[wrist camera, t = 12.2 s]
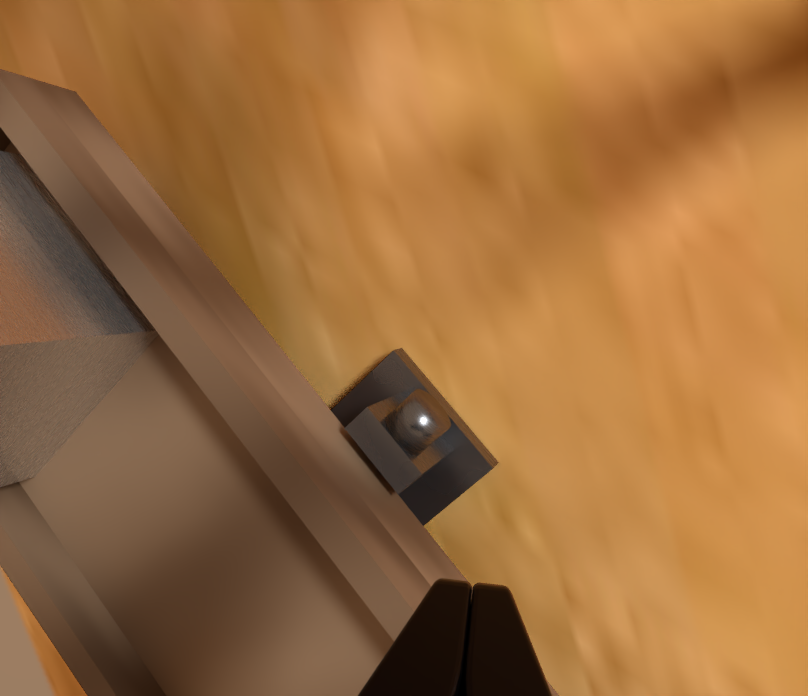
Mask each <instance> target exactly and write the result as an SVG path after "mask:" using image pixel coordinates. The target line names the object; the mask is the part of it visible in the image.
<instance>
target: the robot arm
mask: <svg viewBox="0 0 808 696" xmlns="http://www.w3.org/2000/svg"><path fill="white" fill-rule="evenodd" d="M471 598H472V599H471ZM358 696H552V693H551V691H550V688H549V686H548V683H547V681H546V678H545V676H544V673H543V671H542V668H541V666H540V663H539V661H538V658H537V656H536V653H535V651H534V648H533V646H532V643H531V641H530V638H529V636H528V633H527V631H526V628H525V625H524V623H523V620H522V618H521V615H520V613H519V610H518V608H517V605H516V603H515V600H514V598H513V595H512V593H511V591H510V590H509V588H507V587H506V586H503V585H495V584H487V583H477V584H475V585H474V586H473V590H472V586H471V584H470V583H469V582H467V581H462V580H454V579H446V578H440V579H438V580H436V581H435V582H434V583H433V585H432V586H431V588H430V589H429V591H428V592H427V594H426V595H425V597H424V598H423V600H422V601H421V603H420V604H419V605H418V607H417V608H416V610H415V611H414V613H413V614H412V616H411V617H410V619H409V620H408V622H407V623H406V625H405V626H404V628H403V629H402V631H401V632H400V634H399V635H398V637H397V638H396V640H395V641H394V643H393V644H392V645H391V647H390V648H389V650H388V651H387V653H386V654H385V656H384V657H383V659H382V660H381V662H380V663H379V665H378V666H377V668H376V669H375V671H374V672H373V674H372V675H371V677H370V678H369V680H368V681H367V683H366V684H365V685H364V687H363V688H362V690H361V691H360V693H359V694H358Z"/></svg>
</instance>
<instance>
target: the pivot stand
mask: <svg viewBox="0 0 808 696" xmlns="http://www.w3.org/2000/svg"><path fill="white" fill-rule="evenodd" d="M331 411H332V413H333V414H334V415H335V416H336V418H337V419H338V420H339V421H340V423H341V424H342V425H343V426H344V428H345V430H346V431H347V432H348V433H349V434H350V436H351V437H352V438H353V439H354V441H355V442H356V443H357V444H358V446H359V447H360V448H361V449H362V451H363V452H364V453H365V454H366V455H367V457H368V458H369V459H370V460H371V462H372V463H373V464H374V465H375V467H376V468H377V469H378V470H379V472H380V473H381V474H382V475H383V476H384V478H385V479H386V480H387V481H388V483H389V484H390V485H391V486H392V488H393V489H394V490H395V491H396V493H397V494H398V495H399V496H400V498H401V499H402V500H403V501H404V503H405V504H406V505H407V506H408V508H409V509H410V510H411V511H412V513H413V514H414V515H415V516H416V518H417V519H418V520H419V521H420V523H421V524H422V525H423V526H424V525H425V524H426V523H427V522H429V521H430V520H431V519H432V518H433V517H435V516H436V515H437V514H438V513H439V512H441V511H442V510H443V509H444V508H446V507H447V506H448V505H449V504H450V503H452V502H453V501H454V500H455V499H456V498H458V497H459V496H460V495H461V494H462V493H464V492H465V491H466V490H467V489H468V488H470V487H471V486H472V485H473V484H475V483H476V482H477V481H478V480H479V479H481V478H482V477H483V476H484V475H485V474H487V473H488V472H489V471H490V470H491V469H493V468H494V467H495V466H496V465H497V464H498V462H497V460H496V459H495V458H494V457H493V456H492V454H491V453H490V452H489V451H488V450H487V449H486V447H485V446H484V445H483V444H482V443H481V441H480V440H479V439H478V438H477V437H476V435H475V434H474V433H473V432H472V431H471V430H470V428H469V427H468V426H467V425H466V424H465V422H464V421H463V420H462V419H461V418H460V417H459V415H458V414H457V413H456V412H455V411H454V409H453V408H452V407H451V406H450V405H449V404H448V402H447V401H446V400H445V399H444V398H443V396H442V395H441V394H440V393H439V392H438V391H437V389H436V388H435V387H434V386H433V385H432V383H431V382H430V381H429V380H428V379H427V377H426V376H425V375H424V374H423V373H422V372H421V370H420V369H419V368H418V367H417V366H416V364H415V363H414V362H413V361H412V360H411V359H410V357H409V356H408V355H407V354H406V353H405V351H404V350H403V349H402V348H400V349H397V350H393V351H392V352H391V353H390V354H389V355H388V356H387V357H386V358H385V359H384V360H383V361H382V362H381V363H380V364H379V365H378V366H377V367H376V368H375V369H374V370H373V371H371V372H370V373H369V374H368V375H367V376H366V377H365V378H364V379H363V380H362V381H361V382H360V383H359V384H358V385H357V386H356V387H355V388H354V389H353V390H352V391H351V392H349V393H348V394H347V395H346V396H345V397H344V398H343V399H342V400H341V401H340V402H339V403H338V404H337V405H336V406H335V407H334V408H333V409H332V410H331Z"/></svg>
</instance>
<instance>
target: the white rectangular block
mask: <svg viewBox="0 0 808 696" xmlns="http://www.w3.org/2000/svg"><path fill="white" fill-rule="evenodd" d="M158 336H159V334H158V332H157V331H156V330H155V328H154V327H153V326H152V324H151V323H150V322H149V321H148V319H147V318H146V317H145V315H144V314H143V313H142V311H141V310H140V309H139V307H138V306H137V305H136V304H135V302H134V301H133V300H132V298H131V297H130V296H129V294H128V293H127V292H126V291H125V289H124V288H123V287H122V285H121V284H120V283H119V281H118V280H117V279H116V277H115V276H114V275H113V274H112V272H111V271H110V270H109V268H108V267H107V266H106V264H105V263H104V262H103V260H102V259H101V258H100V257H99V255H98V254H97V253H96V251H95V250H94V249H93V247H92V246H91V245H90V243H89V242H88V241H87V240H86V238H85V237H84V236H83V234H82V233H81V232H80V230H79V229H78V228H77V227H76V225H75V224H74V223H73V221H72V220H71V219H70V217H69V216H68V215H67V213H66V212H65V211H64V210H63V208H62V207H61V206H60V204H59V203H58V202H57V200H56V199H55V198H54V196H53V195H52V194H51V193H50V191H49V190H48V189H47V187H46V186H45V185H44V183H43V182H42V181H41V180H40V178H39V177H38V176H37V174H36V173H35V172H34V170H33V169H32V168H31V166H30V165H29V164H28V163H27V161H26V160H25V159H24V157H23V156H22V155H20V154H15V153H9V152H4V151H0V487H2V486H6V485H9V484H12V483H16V482H19V481H22V480H26V479H29V478H32V477H35V476H36V475H37V474H38V473H39V472H40V471H41V470H42V468H43V467H44V466H45V465H46V464H47V463H48V462H49V460H50V459H51V458H52V457H53V456H54V455H55V454H56V452H57V451H58V450H59V449H60V448H61V447H62V446H63V444H64V443H65V442H66V441H67V440H68V439H69V438H70V436H71V435H72V434H73V433H74V432H75V431H76V430H77V428H78V427H79V426H80V425H81V424H82V423H83V422H84V420H85V419H86V418H87V417H88V416H89V415H90V414H91V412H92V411H93V410H94V409H95V408H96V407H97V406H98V404H99V403H100V402H101V401H102V400H103V399H104V398H105V396H106V395H107V394H108V393H109V392H110V391H111V390H112V388H113V387H114V386H115V385H116V384H117V383H118V382H119V380H120V379H121V378H122V377H123V376H124V375H125V374H126V372H127V371H128V370H129V369H130V368H131V367H132V366H133V364H134V363H135V362H136V361H137V360H138V359H139V358H140V356H141V355H142V354H143V353H144V352H145V351H146V350H147V348H148V347H149V346H150V345H151V344H152V343H153V342H154V340H155V339H156V338H157V337H158Z"/></svg>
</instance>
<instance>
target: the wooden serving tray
mask: <svg viewBox="0 0 808 696" xmlns="http://www.w3.org/2000/svg"><path fill="white" fill-rule="evenodd" d="M0 151H4V152H9V153H15V154H20V155H22V156H23V157H24V159H25V160H26V161H27V163H28V164H29V165H30V166H31V168H32V169H33V170H34V172H35V173H36V174H37V176H38V177H39V178H40V180H41V181H42V182H43V183H44V185H45V186H46V187H47V189H48V190H49V191H50V193H51V194H52V195H53V196H54V198H55V199H56V200H57V202H58V203H59V204H60V206H61V207H62V208H63V210H64V211H65V212H66V213H67V215H68V216H69V217H70V219H71V220H72V221H73V223H74V224H75V225H76V227H77V228H78V229H79V230H80V232H81V233H82V234H83V236H84V237H85V238H86V240H87V241H88V242H89V243H90V245H91V246H92V247H93V249H94V250H95V251H96V253H97V254H98V255H99V257H100V258H101V259H102V260H103V262H104V263H105V264H106V266H107V267H108V268H109V270H110V271H111V272H112V274H113V275H114V276H115V277H116V279H117V280H118V281H119V283H120V284H121V285H122V287H123V288H124V289H125V291H126V292H127V293H128V294H129V296H130V297H131V298H132V300H133V301H134V302H135V304H136V305H137V306H138V307H139V309H140V310H141V311H142V313H143V314H144V315H145V317H146V318H147V319H148V321H149V322H150V323H151V324H152V326H153V327H154V328H155V330H156V331H157V332H158V334H159V336H158V337H157V338H156V339H155V340H154V342H153V343H152V344H151V345H150V346H149V347H148V348H147V350H146V351H145V352H144V353H143V354H142V355H141V356H140V358H139V359H138V360H137V361H136V362H135V363H134V364H133V366H132V367H131V368H130V369H129V370H128V371H127V372H126V374H125V375H124V376H123V377H122V378H121V379H120V380H119V382H118V383H117V384H116V385H115V386H114V387H113V388H112V390H111V391H110V392H109V393H108V394H107V395H106V396H105V398H104V399H103V400H102V401H101V402H100V403H99V404H98V406H97V407H96V408H95V409H94V410H93V411H92V412H91V414H90V415H89V416H88V417H87V418H86V419H85V420H84V422H83V423H82V424H81V425H80V426H79V427H78V428H77V430H76V431H75V432H74V433H73V434H72V435H71V436H70V438H69V439H68V440H67V441H66V442H65V443H64V444H63V446H62V447H61V448H60V449H59V450H58V451H57V452H56V454H55V455H54V456H53V457H52V458H51V459H50V460H49V462H48V463H47V464H46V465H45V466H44V467H43V468H42V470H41V471H40V472H39V473H38V474H37V475H36V476H35V477H32V478H29V479H26V480H22V481H19V482H16V483H12V484H9V485H6V486H2V487H0V565H1V567H2V568H3V570H4V571H5V573H6V574H7V576H8V577H9V579H10V580H11V582H12V583H13V585H14V586H15V588H16V589H17V591H18V592H19V594H20V595H21V597H22V598H23V600H24V601H25V603H26V604H27V606H28V607H29V609H30V610H31V612H32V613H33V615H34V616H35V618H36V619H37V621H38V622H39V624H40V625H41V627H42V628H43V630H44V631H45V633H46V634H47V636H48V637H49V639H50V640H51V642H52V643H53V645H54V646H55V648H56V649H57V651H58V652H59V654H60V655H61V657H62V658H63V660H64V661H65V663H66V664H67V666H68V667H69V669H70V670H71V672H72V673H73V675H74V676H75V678H76V679H77V681H78V682H79V684H80V685H81V687H82V688H83V690H84V691H85V693H86V694H87V696H358V694H359V693H360V691H361V690H362V688H363V687H364V685H365V684H366V683H367V681H368V680H369V678H370V677H371V675H372V674H373V672H374V671H375V669H376V668H377V666H378V665H379V663H380V662H381V660H382V659H383V657H384V656H385V654H386V653H387V651H388V650H389V648H390V647H391V645H392V644H393V643H394V641H395V640H396V638H397V637H398V635H399V634H400V632H401V631H402V629H403V628H404V626H405V625H406V623H407V622H408V620H409V619H410V617H411V616H412V614H413V613H414V611H415V610H416V608H417V607H418V605H419V604H420V603H421V601H422V600H423V598H424V597H425V595H426V594H427V592H428V591H429V589H430V588H431V586H432V585H433V583H434V582H435V581H436V580H438V579H440V578H446V579H454V580H462V581H467V580H466V579H465V578H464V576H463V575H462V574H461V573H460V571H459V570H458V569H457V568H456V566H455V565H454V564H453V563H452V561H451V560H450V559H449V558H448V556H447V555H446V554H445V553H444V551H443V550H442V549H441V548H440V546H439V545H438V544H437V543H436V541H435V540H434V539H433V538H432V536H431V535H430V534H429V533H428V531H427V530H426V529H425V528H424V526H423V525H422V524H421V523H420V521H419V520H418V519H417V518H416V516H415V515H414V514H413V513H412V511H411V510H410V509H409V508H408V506H407V505H406V504H405V503H404V501H403V500H402V499H401V498H400V496H399V495H398V494H397V493H396V491H395V490H394V489H393V488H392V486H391V485H390V484H389V483H388V481H387V480H386V479H385V478H384V476H383V475H382V474H381V473H380V472H379V470H378V469H377V468H376V467H375V465H374V464H373V463H372V462H371V460H370V459H369V458H368V457H367V455H366V454H365V453H364V452H363V451H362V449H361V448H360V447H359V446H358V444H357V443H356V442H355V441H354V439H353V438H352V437H351V436H350V434H349V433H348V432H347V431H346V430H345V428H344V426H343V425H342V424H341V423H340V421H339V420H338V419H337V418H336V416H335V415H334V414H333V413H332V411H331V410H330V409H329V408H328V406H327V405H326V404H325V403H324V401H323V400H322V399H321V398H320V396H319V395H318V394H317V393H316V391H315V390H314V389H313V388H312V386H311V385H310V384H309V383H308V381H307V380H306V379H305V378H304V376H303V375H302V374H301V373H300V371H299V370H298V369H297V368H296V366H295V365H294V364H293V363H292V361H291V360H290V359H289V358H288V356H287V355H286V354H285V353H284V351H283V350H282V349H281V348H280V346H279V345H278V344H277V343H276V341H275V340H274V339H273V338H272V336H271V335H270V334H269V333H268V331H267V330H266V329H265V328H264V326H263V325H262V324H261V323H260V321H259V320H258V319H257V318H256V316H255V315H254V314H253V313H252V311H251V310H250V309H249V308H248V307H247V305H246V304H245V303H244V302H243V300H242V299H241V298H240V297H239V295H238V294H237V293H236V292H235V290H234V289H233V288H232V287H231V285H230V284H229V283H228V282H227V280H226V279H225V278H224V277H223V275H222V274H221V273H220V272H219V270H218V269H217V268H216V267H215V265H214V264H213V263H212V262H211V260H210V259H209V258H208V257H207V255H206V254H205V253H204V252H203V250H202V249H201V248H200V247H199V245H198V244H197V243H196V242H195V240H194V239H193V238H192V237H191V235H190V234H189V233H188V232H187V230H186V229H185V228H184V227H183V225H182V224H181V223H180V222H179V220H178V219H177V218H176V217H175V215H174V214H173V213H172V212H171V210H170V209H169V208H168V207H167V205H166V204H165V203H164V202H163V200H162V199H161V198H160V197H159V195H158V194H157V193H156V192H155V190H154V189H153V188H152V187H151V185H150V184H149V183H148V182H147V180H146V179H145V178H144V177H143V175H142V174H141V173H140V172H139V170H138V169H137V168H136V167H135V165H134V164H133V163H132V162H131V160H130V159H129V158H128V157H127V155H126V154H125V153H124V152H123V150H122V149H121V148H120V147H119V145H118V144H117V143H116V142H115V140H114V139H113V138H112V137H111V135H110V134H109V133H108V132H107V130H106V129H105V128H104V127H103V125H102V124H101V123H100V122H99V120H98V119H97V118H96V117H95V115H94V114H93V113H92V112H91V110H90V109H89V108H88V107H87V105H86V104H85V103H84V102H83V100H82V99H81V98H80V97H79V95H78V94H77V93H76V92H75V91H71V90H68V89H65V88H61V87H58V86H55V85H51V84H48V83H45V82H41V81H38V80H35V79H32V78H28V77H25V76H22V75H18V74H15V73H12V72H8V71H5V70H2V69H0ZM467 582H468V581H467ZM472 590H473V588H472ZM471 599H472V598H471ZM546 681H547V680H546ZM547 683H548V681H547ZM548 686H549V688H550V691H551V693H552V696H559V695H558V694H557V693H556V691H555V690H554V689H553V688H552V686H551V685H550V684H549V683H548Z"/></svg>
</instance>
